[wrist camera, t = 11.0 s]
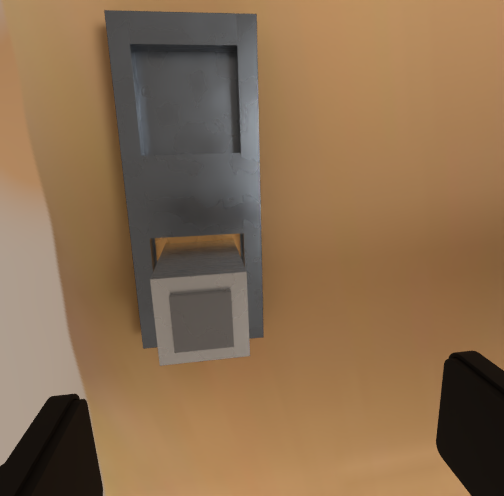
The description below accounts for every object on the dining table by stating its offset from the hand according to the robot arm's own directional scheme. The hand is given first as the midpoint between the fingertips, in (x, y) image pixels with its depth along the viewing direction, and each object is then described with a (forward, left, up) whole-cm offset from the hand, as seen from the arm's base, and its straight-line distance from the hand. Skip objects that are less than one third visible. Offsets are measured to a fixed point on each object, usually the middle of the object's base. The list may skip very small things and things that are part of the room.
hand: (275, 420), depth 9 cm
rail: (+2, -4, -19) cm, 20 cm away
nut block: (+2, +2, -18) cm, 18 cm away
